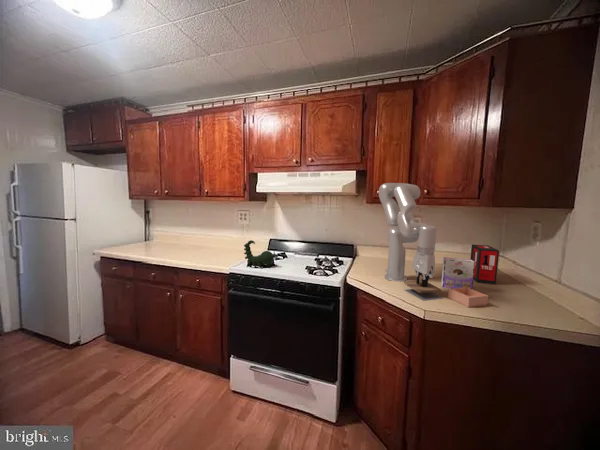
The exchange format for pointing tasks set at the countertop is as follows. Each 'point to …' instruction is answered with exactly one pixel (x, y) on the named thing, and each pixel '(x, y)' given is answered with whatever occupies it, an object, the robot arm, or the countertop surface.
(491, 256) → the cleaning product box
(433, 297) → the grey flat piece
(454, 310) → the countertop surface
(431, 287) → the lid
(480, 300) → the pink square tray
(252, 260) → the toy figurine
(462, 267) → the candy box
